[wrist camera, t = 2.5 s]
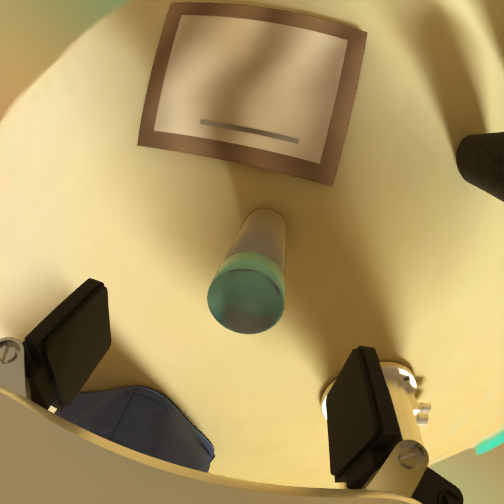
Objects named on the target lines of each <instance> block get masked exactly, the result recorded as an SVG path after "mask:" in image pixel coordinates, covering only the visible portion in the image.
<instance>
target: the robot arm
mask: <svg viewBox="0 0 504 504" xmlns="http://www.w3.org/2000/svg"><path fill="white" fill-rule="evenodd" d="M110 345H111V333H110V322H109V309H108V292H107V288H106V287H104V283H102V282H100V281H97V280H94V279H91V278H89V279H88V280H86V281H85V282H84V283H83V284H82V285H81V286H80V287H78V288H77V289H76V290H75V291H74V292H73V293H72V294H71V295H69V296H68V297H67V298H66V299H65V300H64V301H63V302H62V303H61V304H60V305H59V306H57V307H56V308H55V309H54V310H53V311H52V312H51V313H50V314H49V315H48V316H47V317H46V318H45V319H44V320H43V321H42V322H41V323H40V324H39V325H37V326H36V327H35V328H34V329H33V330H32V331H31V332H30V333H29V334H28V335H27V336H26V337H25V341H24V342H23V343H21V341H19V340H18V339H16V338H13V337H5V338H1V339H0V504H463V495H462V493H461V491H460V490H459V489H458V488H457V487H456V486H455V485H453V484H452V483H450V482H449V481H447V480H446V479H445V478H443V477H441V476H440V475H439V474H437V473H436V472H434V471H433V470H432V469H430V465H429V457H428V453H427V451H426V449H425V447H424V444H423V440H422V437H421V434H420V430H419V427H418V426H425V425H426V424H427V422H428V415H427V413H428V412H429V411H430V409H431V405H430V403H418V402H416V399H415V393H416V390H417V383H416V379H415V377H414V375H413V373H412V372H411V370H410V369H409V368H407V367H406V366H404V365H402V364H399V363H395V362H379V359H378V356H377V353H376V350H375V349H374V348H372V347H365V346H359V347H358V348H357V349H353V350H352V352H351V354H350V356H349V358H348V359H347V361H346V363H345V365H344V367H343V368H342V370H341V372H340V374H339V376H338V377H337V379H335V380H334V381H333V382H332V383H331V384H330V385H329V386H328V387H327V389H326V390H325V392H324V393H323V396H322V399H321V409H322V414H323V416H324V417H325V419H326V420H327V425H328V438H329V453H330V471H331V474H332V475H335V482H339V484H340V489H325V488H307V487H294V486H283V485H274V484H266V483H259V482H252V481H246V480H240V479H235V478H229V477H224V476H219V475H215V474H210V473H206V472H202V471H198V470H194V469H190V468H186V467H183V466H179V465H176V464H172V463H169V462H166V461H163V460H160V459H157V458H154V457H151V456H148V455H145V454H142V453H139V452H137V451H134V450H131V449H129V448H126V447H124V446H121V445H119V444H116V443H114V442H111V441H109V440H107V439H104V438H102V437H100V436H98V435H95V434H93V433H91V432H89V431H87V430H85V429H83V428H81V427H79V426H77V425H75V424H73V423H71V422H69V421H67V420H65V419H63V418H61V417H59V416H57V415H55V414H54V413H52V412H50V411H48V409H49V407H50V406H53V407H55V408H57V409H59V410H60V411H62V410H63V409H64V407H65V406H69V405H70V404H71V403H72V401H73V400H74V398H75V397H76V395H77V394H78V392H79V391H80V389H81V388H82V386H83V385H84V384H85V382H86V381H87V379H88V378H89V376H90V375H91V373H92V372H93V370H94V369H95V368H96V366H97V365H98V363H99V362H100V360H101V359H102V358H103V356H104V355H105V353H106V352H107V351H108V349H109V348H110ZM418 412H419V413H418Z"/></svg>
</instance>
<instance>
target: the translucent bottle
mask: <svg viewBox="0 0 504 504" xmlns="http://www.w3.org/2000/svg"><path fill="white" fill-rule="evenodd" d="M285 249H286V225H285V222H284V220H283V218H282V217H281V215H280V214H278V213H277V212H275V211H274V210H271V209H258V210H255V211H253V212H252V213H251V214H249V216H248V217H247V218H246V220H245V222H244V224H243V226H242V228H241V229H240V231H239V233H238V235H237V237H236V239H235V241H234V243H233V245H232V247H231V249H230V251H229V253H228V254H227V256H226V258H225V260H224V262H223V263H222V265H221V266H220V268H219V270H218V272H217V274H216V276H215V278H214V279H213V281H212V283H211V285H210V288H209V290H208V296H207V300H208V306H209V309H210V311H211V313H212V315H213V316H214V318H215V319H216V320H217V321H218V322H219V323H220V324H221V325H222V326H224V327H225V328H227V329H229V330H231V331H234V332H237V333H242V334H256V333H261V332H263V331H266V330H268V329H270V328H271V327H273V326H274V325H275V324H276V323H277V322H278V321H279V319H280V318H281V316H282V313H283V310H284V299H285V279H284V276H285Z"/></svg>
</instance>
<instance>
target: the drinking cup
mask: <svg viewBox="0 0 504 504" xmlns="http://www.w3.org/2000/svg"><path fill="white" fill-rule="evenodd" d="M457 166H458V169H459V172H460V174H461V175H462V177H463V178H464V179H465V180H466V181H467V182H469V183H471V184H472V185H474V186H476V187H478V188H480V189H482V190H484V191H486V192H487V193H489V194H491V195H493V196H494V197H496V198H498V199H500V200H501V201H503V202H504V132H499V133H488V134H478V135H470V136H467V137H465V138H464V139H463V140H462V141H461V143H460V145H459V147H458V150H457Z"/></svg>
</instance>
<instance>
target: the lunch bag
mask: <svg viewBox="0 0 504 504" xmlns="http://www.w3.org/2000/svg"><path fill="white" fill-rule="evenodd" d="M54 414H55V415H57V416H59V417H61V418H63V419H65V420H67V421H69V422H71V423H73V424H75V425H77V426H79V427H81V428H83V429H85V430H87V431H89V432H91V433H93V434H95V435H98V436H100V437H102V438H104V439H107V440H109V441H111V442H114V443H116V444H119V445H121V446H124V447H126V448H129V449H131V450H134V451H137V452H139V453H142V454H145V455H148V456H151V457H154V458H157V459H160V460H163V461H166V462H169V463H172V464H176V465H179V466H183V467H186V468H190V469H194V470H198V471H202V472H206V473H208V470H209V467H210V463H211V461H212V460H213V459H214V457H215V455H214V448H213V446H212V444H211V443H210V442H209V441H208V440H207V439H206V438H205V437H204V436H203V435H202V434H201V433H200V432H199V431H198V430H197V429H196V428H194V427H193V426H192V425H191V424H190V423H189V421H188V420H187V419H186V418H185V417H184V416H183V415H182V414H181V413H180V412H179V410H178V409H177V408H176V407H175V406H174V405H173V404H172V403H171V402H170V401H169V400H168V399H166V398H165V397H164V396H163V395H161V394H159V393H158V392H156V391H154V390H152V389H149V388H145V387H140V386H131V387H124V388H120V389H115V390H111V391H105V392H103V391H100V392H95V393H82V394H77V395H76V397H75V398H74V400H73V401H72V403H71V404H70V405H69V406H65V407H64V409H63V410H62V411H60V410H59V409H57V410H56V412H55V413H54Z"/></svg>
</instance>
